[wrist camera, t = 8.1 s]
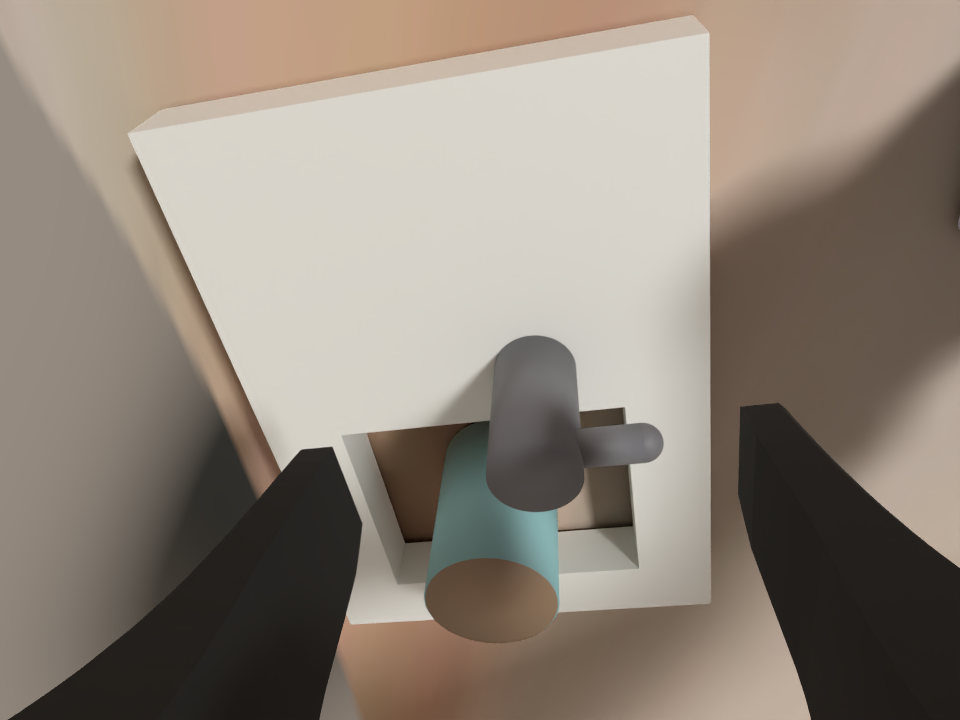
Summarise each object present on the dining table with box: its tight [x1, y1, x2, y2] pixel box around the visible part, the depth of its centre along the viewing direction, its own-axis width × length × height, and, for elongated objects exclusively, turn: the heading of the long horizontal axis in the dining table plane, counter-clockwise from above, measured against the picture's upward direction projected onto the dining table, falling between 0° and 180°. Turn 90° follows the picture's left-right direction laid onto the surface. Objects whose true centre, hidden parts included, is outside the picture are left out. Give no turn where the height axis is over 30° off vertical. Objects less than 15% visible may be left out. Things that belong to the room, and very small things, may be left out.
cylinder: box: [424, 421, 560, 643], centre depth 24 cm, size 4×4×6 cm
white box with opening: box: [128, 15, 711, 624], centre depth 22 cm, size 14×20×6 cm
